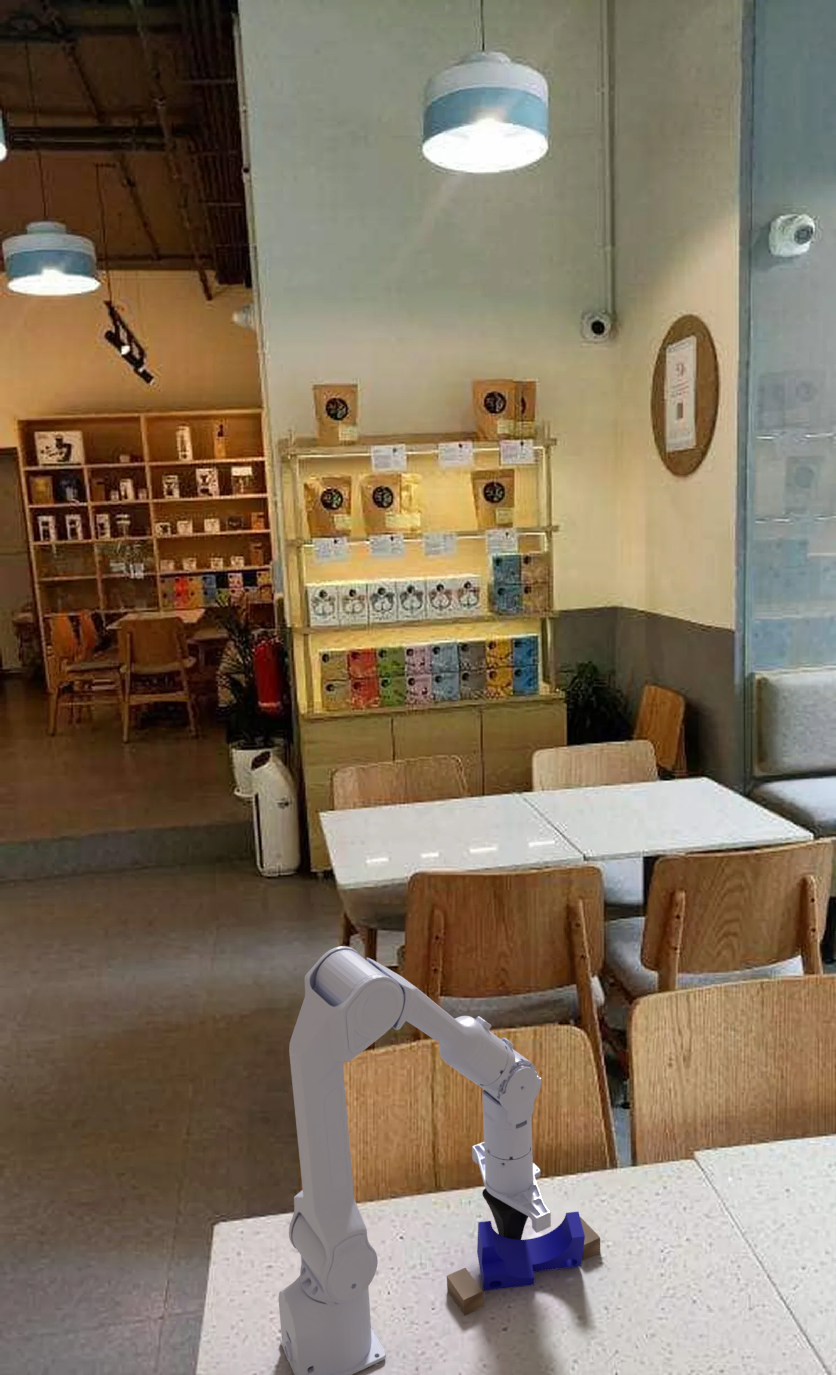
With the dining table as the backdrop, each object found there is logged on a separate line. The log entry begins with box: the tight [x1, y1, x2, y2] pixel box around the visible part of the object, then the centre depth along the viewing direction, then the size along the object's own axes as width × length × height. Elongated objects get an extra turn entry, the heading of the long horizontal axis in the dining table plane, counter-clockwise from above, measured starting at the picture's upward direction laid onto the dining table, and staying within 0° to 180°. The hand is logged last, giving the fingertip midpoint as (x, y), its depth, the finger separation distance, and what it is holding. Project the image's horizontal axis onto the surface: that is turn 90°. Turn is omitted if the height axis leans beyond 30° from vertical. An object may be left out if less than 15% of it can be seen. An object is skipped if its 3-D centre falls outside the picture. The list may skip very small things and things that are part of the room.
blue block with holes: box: [476, 1211, 585, 1292], centre depth 111 cm, size 12×4×6 cm, turn 95°
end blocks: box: [446, 1216, 601, 1316], centre depth 113 cm, size 19×4×2 cm, turn 117°
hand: (511, 1244), depth 115 cm, fingers closed
